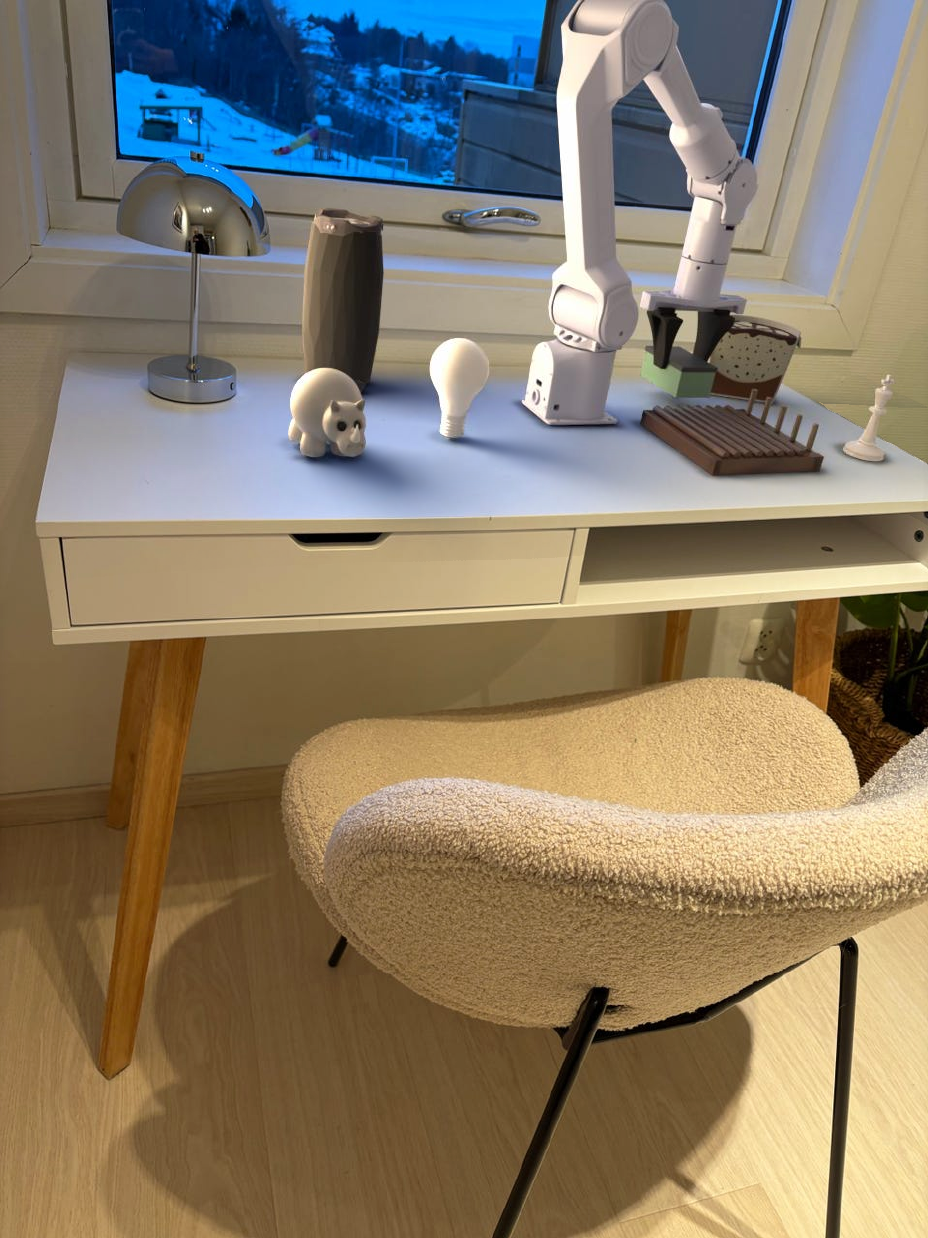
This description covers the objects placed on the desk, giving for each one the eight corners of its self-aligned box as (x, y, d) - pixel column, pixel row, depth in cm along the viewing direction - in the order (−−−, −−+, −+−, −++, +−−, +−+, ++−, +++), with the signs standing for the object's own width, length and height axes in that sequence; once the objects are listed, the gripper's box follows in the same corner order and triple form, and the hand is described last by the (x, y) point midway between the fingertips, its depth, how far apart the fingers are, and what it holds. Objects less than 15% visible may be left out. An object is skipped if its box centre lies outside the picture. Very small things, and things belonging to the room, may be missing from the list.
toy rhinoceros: (316, 485, 96) (321, 399, 92) (279, 439, 105) (282, 358, 101) (386, 480, 99) (394, 397, 95) (344, 436, 108) (350, 357, 104)
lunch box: (675, 398, 129) (682, 367, 127) (638, 375, 136) (645, 345, 134) (710, 398, 131) (718, 367, 129) (672, 375, 138) (679, 346, 136)
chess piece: (834, 447, 126) (859, 368, 121) (864, 445, 128) (890, 368, 123) (861, 462, 122) (889, 381, 117) (892, 460, 124) (920, 381, 119)
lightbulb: (488, 437, 114) (502, 340, 108) (465, 453, 108) (478, 352, 103) (437, 423, 115) (449, 327, 110) (412, 438, 110) (423, 338, 105)
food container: (775, 392, 145) (796, 321, 140) (783, 405, 139) (805, 332, 134) (690, 379, 145) (707, 308, 140) (694, 391, 140) (712, 319, 135)
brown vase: (385, 384, 125) (401, 218, 116) (347, 402, 118) (360, 226, 108) (326, 367, 128) (336, 203, 118) (285, 384, 120) (292, 210, 111)
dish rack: (711, 475, 112) (723, 432, 110) (639, 423, 125) (648, 384, 122) (819, 470, 118) (833, 430, 115) (740, 422, 130) (750, 384, 128)
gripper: (733, 254, 131) (708, 358, 138) (638, 248, 126) (616, 356, 132) (766, 267, 126) (737, 374, 132) (667, 261, 120) (643, 373, 127)
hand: (678, 366), depth 132 cm, fingers closed on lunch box, 5 cm apart
